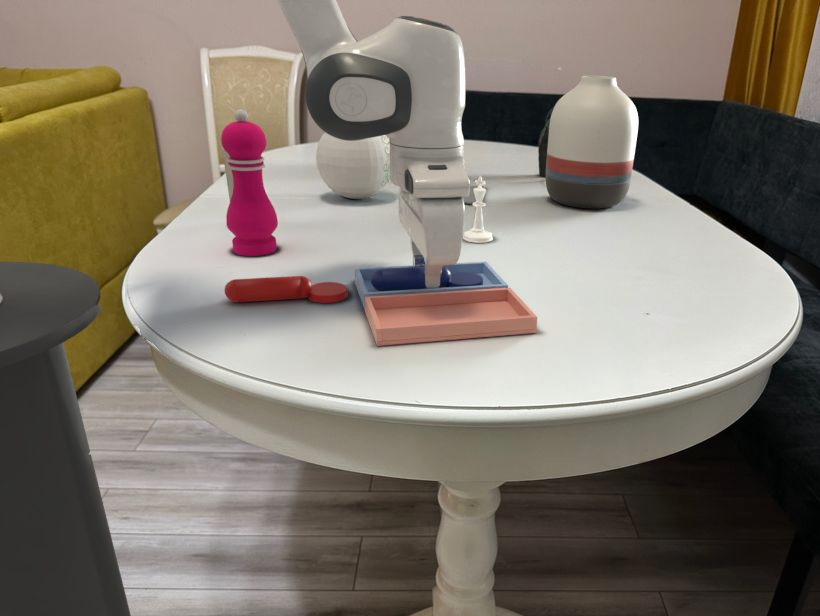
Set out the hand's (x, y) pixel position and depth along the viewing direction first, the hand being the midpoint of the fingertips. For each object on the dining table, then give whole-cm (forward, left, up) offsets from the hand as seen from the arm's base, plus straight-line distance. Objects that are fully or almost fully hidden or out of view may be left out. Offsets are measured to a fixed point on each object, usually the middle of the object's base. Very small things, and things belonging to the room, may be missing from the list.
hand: (425, 277), depth 87 cm
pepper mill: (-21, +22, -2) cm, 30 cm away
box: (-22, +37, -2) cm, 43 cm away
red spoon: (-16, +1, -2) cm, 17 cm away
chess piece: (+14, +23, -2) cm, 26 cm away
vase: (+43, +45, -2) cm, 62 cm away
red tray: (+1, -10, -2) cm, 11 cm away
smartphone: (+20, +54, -2) cm, 57 cm away
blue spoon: (+1, 0, -1) cm, 2 cm away
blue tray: (+1, 0, -2) cm, 2 cm away
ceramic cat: (+52, +69, -2) cm, 86 cm away
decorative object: (-2, +54, -2) cm, 54 cm away
